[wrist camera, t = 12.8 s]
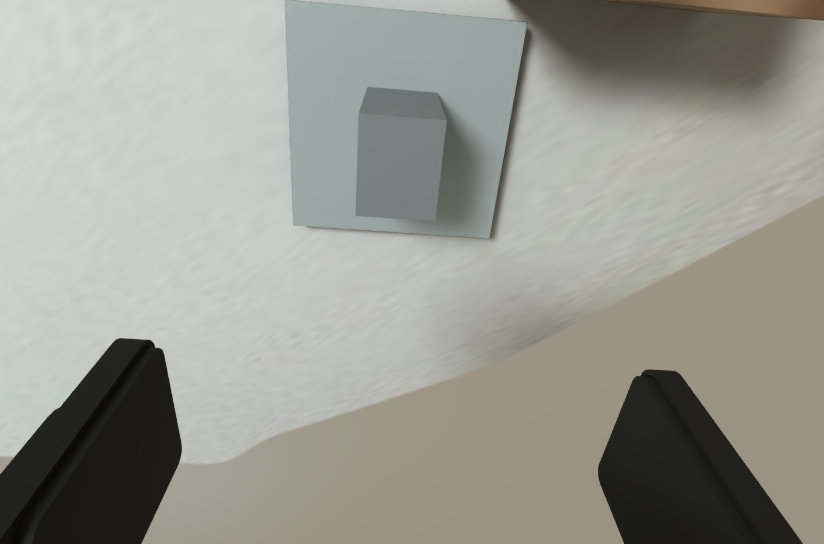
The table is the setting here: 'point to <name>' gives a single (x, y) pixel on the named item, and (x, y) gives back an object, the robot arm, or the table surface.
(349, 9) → the lid
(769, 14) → the box
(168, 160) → the table surface
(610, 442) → the robot arm
